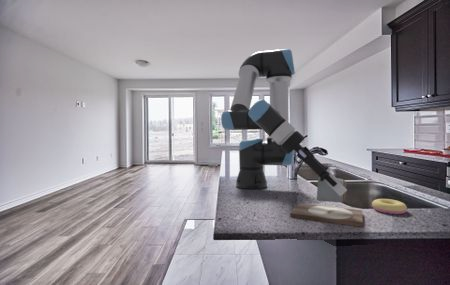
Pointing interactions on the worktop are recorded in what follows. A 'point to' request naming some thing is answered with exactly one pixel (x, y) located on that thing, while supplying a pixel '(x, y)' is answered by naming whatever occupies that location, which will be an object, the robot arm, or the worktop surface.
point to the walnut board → (328, 214)
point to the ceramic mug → (329, 192)
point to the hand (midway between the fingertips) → (341, 189)
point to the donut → (389, 206)
